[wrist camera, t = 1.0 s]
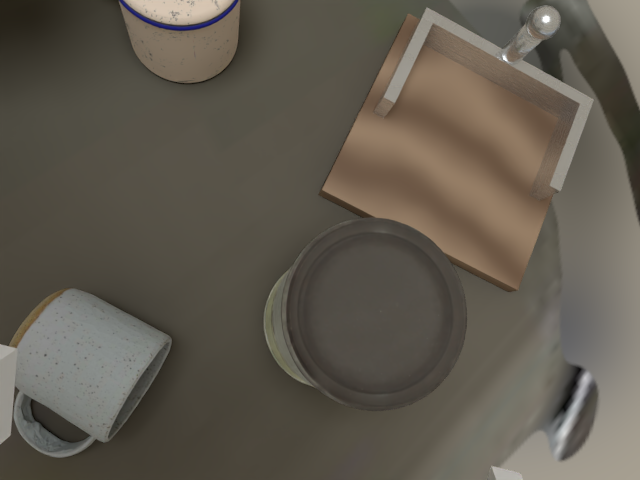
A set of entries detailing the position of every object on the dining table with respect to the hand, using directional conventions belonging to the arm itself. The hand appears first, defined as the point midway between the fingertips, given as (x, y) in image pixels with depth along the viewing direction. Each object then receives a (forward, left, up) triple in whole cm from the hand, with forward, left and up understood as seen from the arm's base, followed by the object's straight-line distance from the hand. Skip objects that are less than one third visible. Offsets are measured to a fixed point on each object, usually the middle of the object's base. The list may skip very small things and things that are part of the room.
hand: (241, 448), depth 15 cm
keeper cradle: (-13, +28, -25) cm, 40 cm away
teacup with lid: (-28, +6, -27) cm, 39 cm away
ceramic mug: (-4, -9, -27) cm, 29 cm away
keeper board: (-10, +25, -27) cm, 38 cm away
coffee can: (-1, +9, -27) cm, 28 cm away
